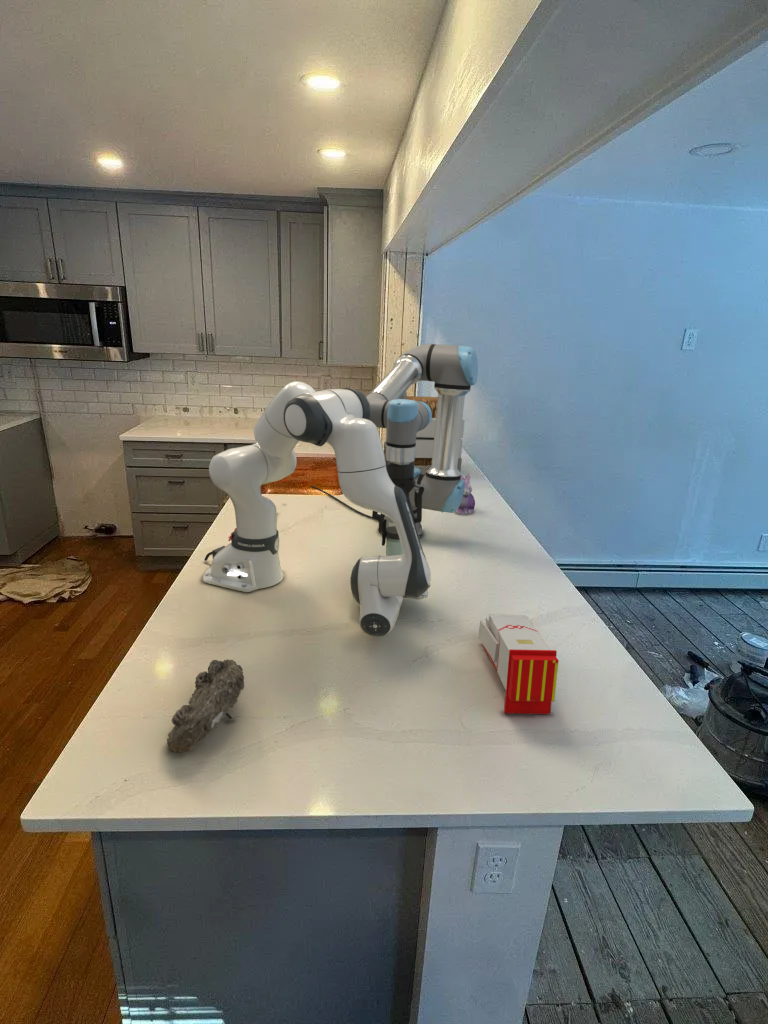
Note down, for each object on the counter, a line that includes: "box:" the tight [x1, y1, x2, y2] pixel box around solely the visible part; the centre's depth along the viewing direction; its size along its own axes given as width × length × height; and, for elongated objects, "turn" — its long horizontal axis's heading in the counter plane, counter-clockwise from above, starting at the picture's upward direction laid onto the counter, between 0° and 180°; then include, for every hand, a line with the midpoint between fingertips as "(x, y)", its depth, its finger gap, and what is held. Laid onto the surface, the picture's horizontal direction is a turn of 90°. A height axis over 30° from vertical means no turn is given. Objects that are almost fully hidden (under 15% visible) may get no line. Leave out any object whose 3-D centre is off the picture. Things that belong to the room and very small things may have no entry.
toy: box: [477, 613, 560, 715], centre depth 124 cm, size 12×13×30 cm
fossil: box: [166, 658, 245, 754], centre depth 106 cm, size 22×10×15 cm
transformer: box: [383, 391, 465, 474], centre depth 268 cm, size 34×33×41 cm
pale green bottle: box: [385, 537, 404, 556], centre depth 155 cm, size 5×5×18 cm
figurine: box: [455, 473, 476, 515], centre depth 223 cm, size 9×10×15 cm
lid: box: [385, 526, 400, 540], centre depth 152 cm, size 6×6×2 cm
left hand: (394, 570), depth 157 cm, fingers closed on pale green bottle, 5 cm apart
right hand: (395, 544), depth 153 cm, fingers closed on lid, 6 cm apart
